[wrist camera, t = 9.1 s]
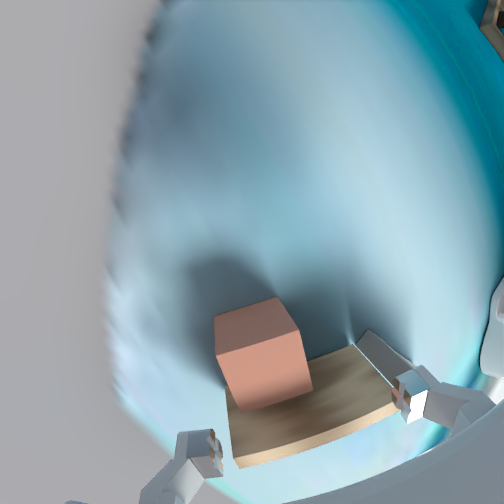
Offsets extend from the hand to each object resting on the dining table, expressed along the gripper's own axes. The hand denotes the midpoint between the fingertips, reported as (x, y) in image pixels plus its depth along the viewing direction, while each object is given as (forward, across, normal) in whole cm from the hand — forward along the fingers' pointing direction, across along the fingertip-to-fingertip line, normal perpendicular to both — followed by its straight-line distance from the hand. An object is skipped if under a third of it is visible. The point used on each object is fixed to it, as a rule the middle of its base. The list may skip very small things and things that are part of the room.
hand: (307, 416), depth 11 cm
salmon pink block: (+9, +2, 0) cm, 9 cm away
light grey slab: (+9, -9, +7) cm, 14 cm away
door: (+8, 0, +5) cm, 10 cm away
